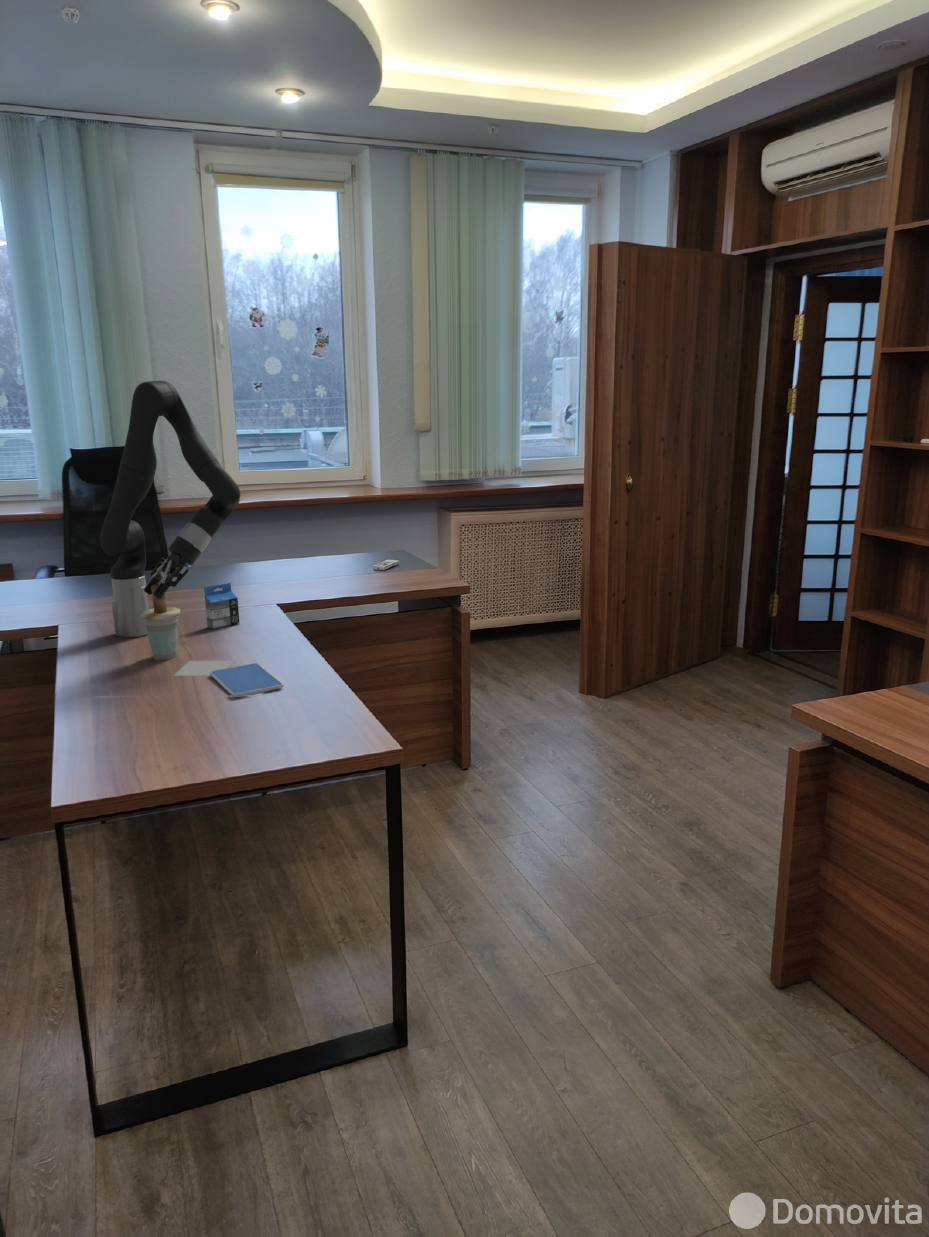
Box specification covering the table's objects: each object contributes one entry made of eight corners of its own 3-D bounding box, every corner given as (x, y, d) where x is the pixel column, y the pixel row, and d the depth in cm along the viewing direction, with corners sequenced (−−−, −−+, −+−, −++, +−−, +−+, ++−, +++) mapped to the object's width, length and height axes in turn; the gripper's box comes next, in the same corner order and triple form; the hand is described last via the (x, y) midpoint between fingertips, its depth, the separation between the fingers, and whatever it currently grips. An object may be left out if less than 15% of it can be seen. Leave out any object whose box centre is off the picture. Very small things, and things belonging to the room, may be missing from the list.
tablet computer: (208, 675, 219) (208, 670, 219) (257, 666, 225) (257, 661, 225) (233, 699, 203) (233, 694, 203) (285, 689, 210) (284, 684, 209)
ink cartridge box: (212, 629, 262) (209, 589, 259) (207, 627, 265) (203, 587, 261) (240, 624, 267) (236, 584, 264) (234, 621, 270) (230, 582, 267)
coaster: (173, 677, 220) (173, 675, 220) (189, 662, 231) (189, 660, 231) (220, 676, 219) (220, 675, 219) (234, 662, 231) (234, 660, 231)
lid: (134, 619, 228) (131, 590, 226) (149, 610, 237) (146, 581, 235) (172, 619, 227) (169, 590, 225) (185, 609, 237) (183, 581, 235)
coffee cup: (171, 663, 231) (166, 619, 227) (142, 662, 232) (136, 618, 229) (187, 653, 239) (183, 611, 236) (159, 652, 240) (154, 610, 237)
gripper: (168, 532, 237) (129, 582, 233) (191, 538, 226) (150, 591, 222) (189, 548, 242) (151, 598, 237) (212, 555, 231) (173, 607, 227)
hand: (151, 594), depth 230 cm, fingers open, 5 cm apart
